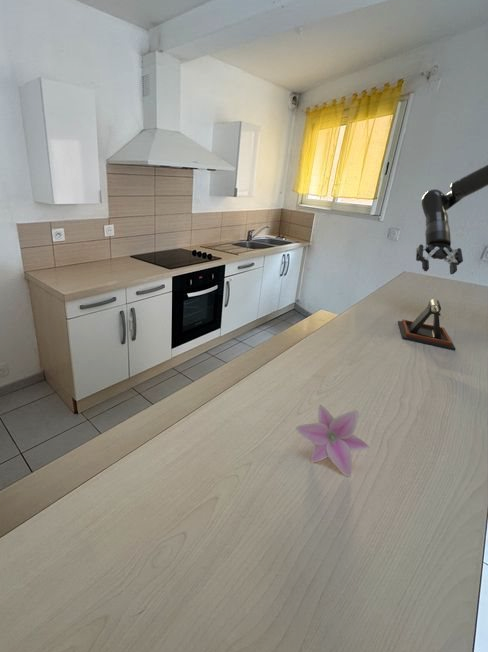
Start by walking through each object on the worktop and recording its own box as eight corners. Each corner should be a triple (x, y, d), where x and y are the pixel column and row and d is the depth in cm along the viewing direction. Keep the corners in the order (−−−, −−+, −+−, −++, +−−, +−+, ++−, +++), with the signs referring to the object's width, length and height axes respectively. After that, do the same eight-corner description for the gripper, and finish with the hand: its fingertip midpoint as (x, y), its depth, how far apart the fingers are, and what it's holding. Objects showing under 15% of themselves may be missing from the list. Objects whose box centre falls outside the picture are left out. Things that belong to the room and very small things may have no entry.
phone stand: (409, 332, 115) (420, 301, 110) (409, 326, 119) (420, 296, 115) (440, 340, 110) (453, 308, 106) (438, 333, 115) (451, 302, 110)
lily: (283, 443, 67) (293, 429, 60) (316, 405, 72) (329, 388, 64) (333, 491, 62) (351, 483, 54) (366, 447, 66) (387, 434, 59)
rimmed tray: (444, 332, 118) (446, 327, 118) (454, 350, 106) (457, 345, 105) (397, 322, 124) (399, 317, 123) (402, 338, 112) (404, 333, 111)
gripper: (421, 227, 123) (422, 264, 117) (465, 231, 119) (468, 269, 114) (412, 239, 130) (413, 274, 124) (453, 242, 126) (455, 279, 120)
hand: (439, 271), depth 119 cm, fingers open, 8 cm apart
